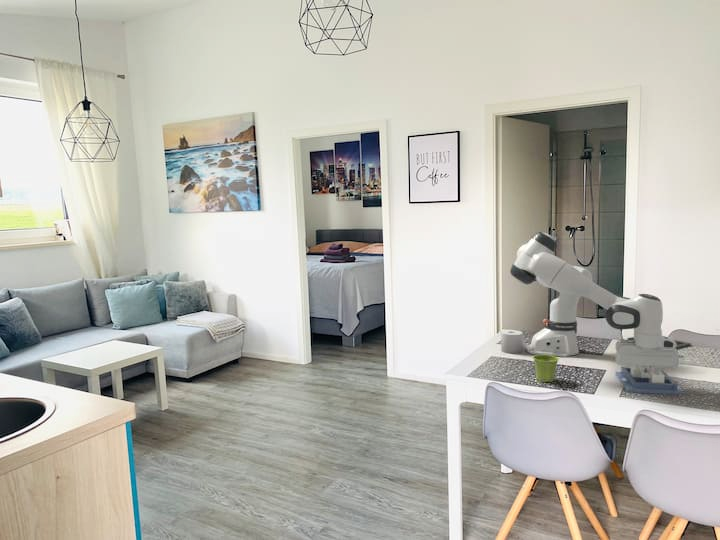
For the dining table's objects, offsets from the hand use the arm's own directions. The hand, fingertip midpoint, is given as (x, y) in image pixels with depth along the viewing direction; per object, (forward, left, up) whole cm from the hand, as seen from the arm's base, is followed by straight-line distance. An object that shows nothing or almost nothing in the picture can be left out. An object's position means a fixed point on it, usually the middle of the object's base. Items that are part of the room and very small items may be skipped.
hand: (645, 378), depth 202 cm
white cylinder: (-43, +47, -4) cm, 64 cm away
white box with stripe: (+6, +12, -3) cm, 14 cm away
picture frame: (+23, +70, -5) cm, 73 cm away
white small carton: (-1, +6, -3) cm, 7 cm away
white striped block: (+4, 0, -3) cm, 4 cm away
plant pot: (-34, +5, -4) cm, 34 cm away
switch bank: (+2, +6, -4) cm, 8 cm away
